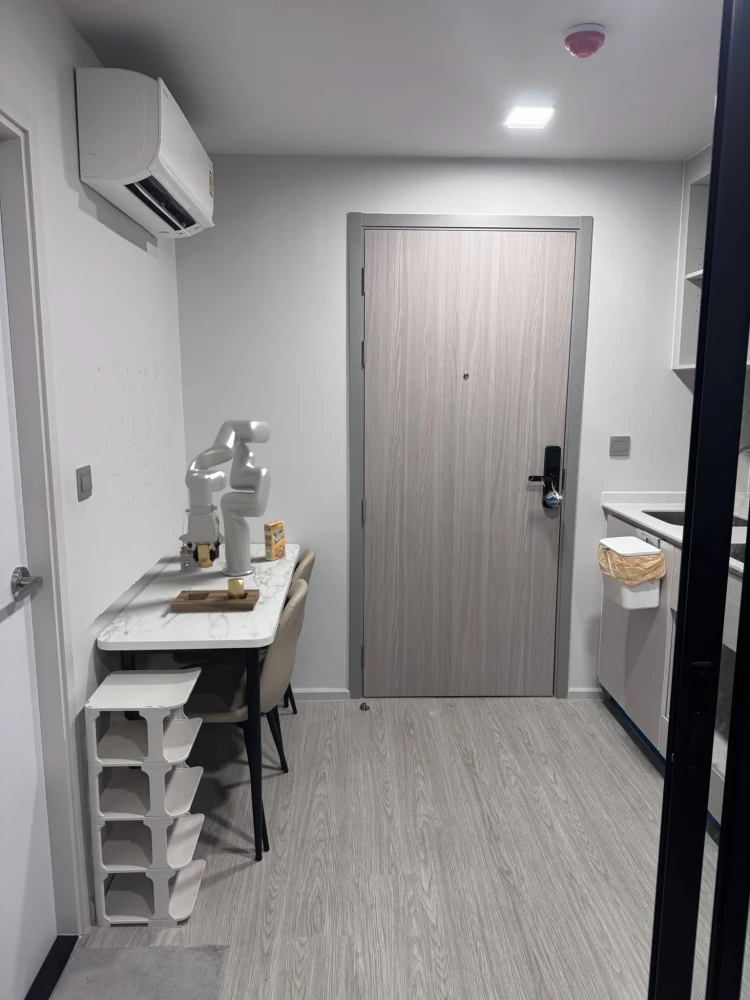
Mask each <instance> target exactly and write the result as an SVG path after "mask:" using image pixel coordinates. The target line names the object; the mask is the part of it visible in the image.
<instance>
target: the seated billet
mask: <svg viewBox="0 0 750 1000" xmlns="http://www.w3.org/2000/svg"><path fill="white" fill-rule="evenodd" d="M227 590H228V593H229V600H237V599H244V590H245V583H244V578H242V577H232V578H230V579H229V578H228V579H227Z"/></svg>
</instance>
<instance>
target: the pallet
mask: <svg viewBox="0 0 750 1000" xmlns="http://www.w3.org/2000/svg"><path fill="white" fill-rule="evenodd" d="M259 598H260V588H259V589H258V588H256V589H254V588H253V589H244V599H237V600H229V593H228V589H197V590H192V589H191V590H181V591H180V593H179V594H178V595H177V596H176V597H175V599H174V600H173V601H172V602H171V603H170V611H171V613H174V612H175V613H177V612H183V613H184V612H185V613H186V612H187V613H188V612H234V611H236V612H238V611H243V612H245V611H254V610H255V607H256V606H257V604H258V601H259Z"/></svg>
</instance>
